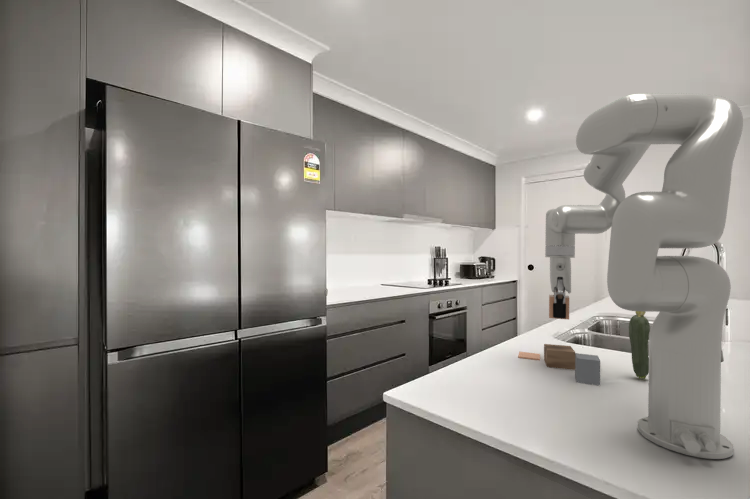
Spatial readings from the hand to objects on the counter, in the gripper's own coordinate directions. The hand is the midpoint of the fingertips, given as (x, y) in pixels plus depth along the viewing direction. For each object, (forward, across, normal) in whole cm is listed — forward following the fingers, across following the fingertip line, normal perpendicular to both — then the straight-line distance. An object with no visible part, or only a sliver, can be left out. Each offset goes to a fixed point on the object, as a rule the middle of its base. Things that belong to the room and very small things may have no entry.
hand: (559, 315), depth 105 cm
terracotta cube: (+1, 0, 0) cm, 1 cm away
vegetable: (+14, -4, -18) cm, 23 cm away
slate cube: (+14, -11, -6) cm, 19 cm away
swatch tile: (+14, +5, +8) cm, 17 cm away
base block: (+14, 0, 0) cm, 14 cm away
